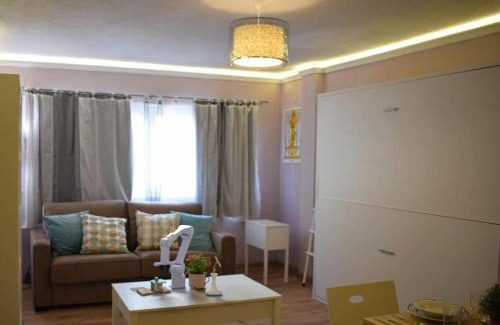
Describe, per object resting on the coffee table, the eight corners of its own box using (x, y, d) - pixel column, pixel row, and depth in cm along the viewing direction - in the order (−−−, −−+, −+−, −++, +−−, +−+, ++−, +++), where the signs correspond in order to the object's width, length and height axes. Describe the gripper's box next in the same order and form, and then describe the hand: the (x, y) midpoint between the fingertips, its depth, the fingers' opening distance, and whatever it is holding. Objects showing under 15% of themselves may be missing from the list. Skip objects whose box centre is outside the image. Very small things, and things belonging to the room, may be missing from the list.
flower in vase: (219, 297, 337) (220, 259, 337) (202, 295, 339) (203, 258, 339) (224, 292, 350) (225, 255, 350) (208, 291, 352) (209, 254, 352)
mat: (143, 287, 358) (143, 286, 358) (147, 289, 351) (147, 289, 351) (129, 288, 353) (129, 288, 353) (133, 291, 346) (133, 290, 346)
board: (165, 288, 355) (165, 286, 355) (171, 292, 345) (171, 290, 345) (136, 291, 345) (136, 289, 345) (142, 295, 335) (142, 293, 335)
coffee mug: (190, 287, 361) (191, 273, 361) (201, 285, 366) (201, 271, 366) (199, 290, 352) (199, 276, 352) (210, 289, 357) (210, 274, 357)
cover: (162, 287, 352) (162, 275, 352) (166, 290, 345) (166, 278, 345) (150, 288, 348) (150, 276, 348) (154, 291, 341) (154, 279, 341)
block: (160, 290, 349) (160, 282, 349) (162, 292, 346) (162, 283, 346) (154, 291, 347) (154, 282, 347) (156, 293, 343) (156, 284, 343)
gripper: (156, 257, 341) (155, 277, 341) (177, 256, 348) (176, 276, 348) (153, 255, 347) (152, 275, 347) (173, 254, 354) (172, 274, 354)
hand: (164, 276), depth 348 cm, fingers closed
